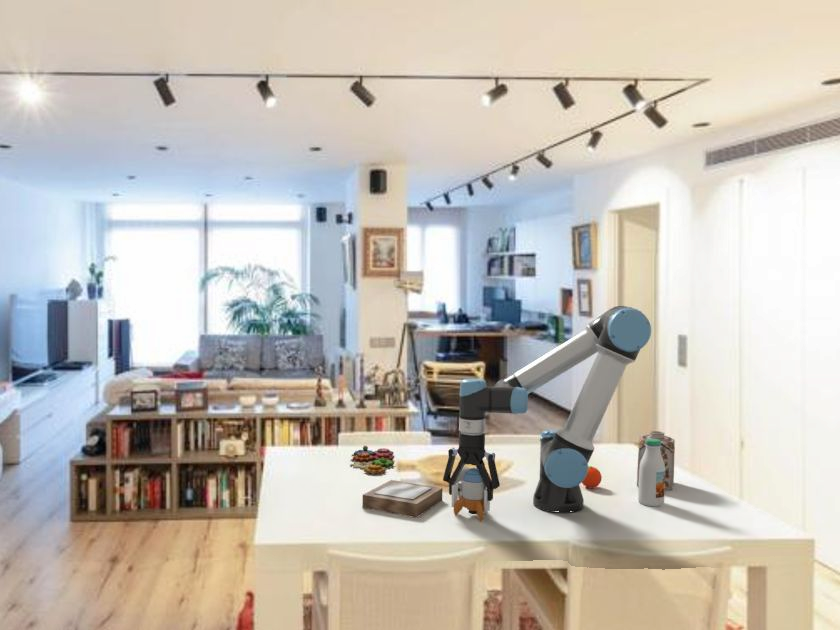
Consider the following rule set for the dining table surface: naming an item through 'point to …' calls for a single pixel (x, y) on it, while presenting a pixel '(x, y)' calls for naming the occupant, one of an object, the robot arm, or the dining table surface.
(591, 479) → the clementine
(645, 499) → the milk bottle
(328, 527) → the dining table surface
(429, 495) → the plinth
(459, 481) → the round bodied animal figurine
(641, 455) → the decorative jar
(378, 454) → the gear puzzle
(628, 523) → the dining table surface
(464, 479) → the toy rocket
